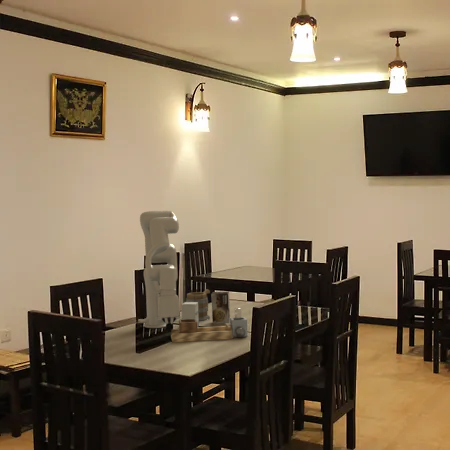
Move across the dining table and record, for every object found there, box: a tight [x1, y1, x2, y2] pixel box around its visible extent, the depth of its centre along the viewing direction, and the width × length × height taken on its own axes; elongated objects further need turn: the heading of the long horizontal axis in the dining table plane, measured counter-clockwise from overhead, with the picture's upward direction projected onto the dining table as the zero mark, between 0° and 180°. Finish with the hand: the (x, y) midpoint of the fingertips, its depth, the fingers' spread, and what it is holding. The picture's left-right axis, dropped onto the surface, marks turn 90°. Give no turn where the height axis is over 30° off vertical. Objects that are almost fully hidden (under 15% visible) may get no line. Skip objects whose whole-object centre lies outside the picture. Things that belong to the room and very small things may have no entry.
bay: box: [170, 323, 234, 343], centre depth 328 cm, size 28×13×5 cm, turn 97°
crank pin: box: [234, 307, 243, 320], centre depth 330 cm, size 3×3×8 cm
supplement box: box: [180, 301, 200, 327], centre depth 355 cm, size 7×7×13 cm
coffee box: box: [210, 291, 231, 325], centre depth 366 cm, size 9×6×16 cm
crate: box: [178, 318, 199, 333], centre depth 327 cm, size 8×9×7 cm
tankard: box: [185, 288, 211, 322], centre depth 382 cm, size 20×13×15 cm, turn 148°
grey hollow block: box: [229, 316, 248, 339], centre depth 329 cm, size 7×10×8 cm
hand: (169, 331), depth 326 cm, fingers closed
